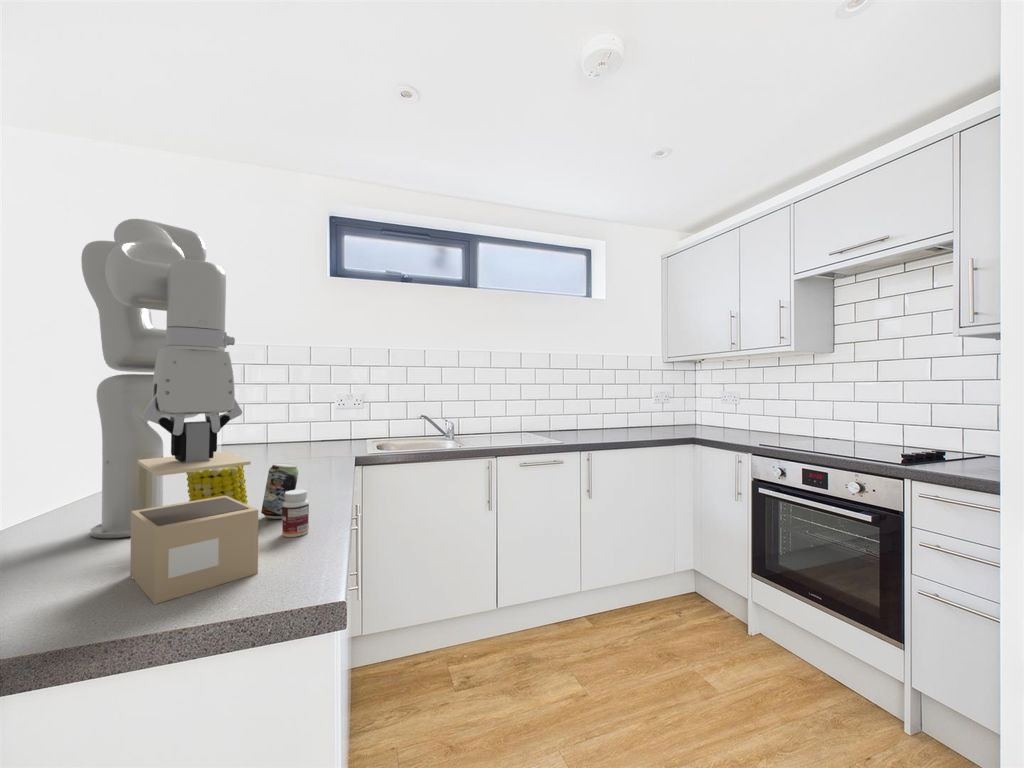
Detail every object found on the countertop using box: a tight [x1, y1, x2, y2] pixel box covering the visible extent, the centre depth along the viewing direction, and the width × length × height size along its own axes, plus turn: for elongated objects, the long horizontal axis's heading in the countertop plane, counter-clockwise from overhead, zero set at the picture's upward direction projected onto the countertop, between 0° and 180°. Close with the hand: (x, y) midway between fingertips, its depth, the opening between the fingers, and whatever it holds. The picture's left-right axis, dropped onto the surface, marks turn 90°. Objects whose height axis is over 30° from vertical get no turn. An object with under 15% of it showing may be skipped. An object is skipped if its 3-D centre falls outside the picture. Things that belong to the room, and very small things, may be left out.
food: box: [185, 465, 249, 505], centre depth 88 cm, size 15×12×10 cm
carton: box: [129, 496, 259, 605], centre depth 70 cm, size 14×13×10 cm
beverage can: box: [260, 462, 299, 519], centre depth 100 cm, size 6×7×12 cm
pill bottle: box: [281, 489, 310, 538], centre depth 89 cm, size 5×5×8 cm
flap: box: [137, 420, 252, 476], centre depth 70 cm, size 11×12×6 cm
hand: (194, 457), depth 70 cm, fingers closed on flap, 3 cm apart
